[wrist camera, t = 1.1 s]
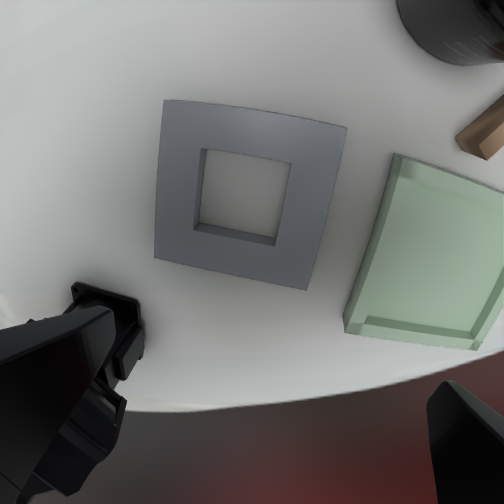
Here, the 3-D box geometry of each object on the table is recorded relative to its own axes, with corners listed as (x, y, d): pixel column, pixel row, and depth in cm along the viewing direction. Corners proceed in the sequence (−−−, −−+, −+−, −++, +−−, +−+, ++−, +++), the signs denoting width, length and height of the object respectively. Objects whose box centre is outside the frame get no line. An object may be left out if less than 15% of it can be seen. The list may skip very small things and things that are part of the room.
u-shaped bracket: (463, 150, 16) (486, 160, 13) (305, -29, 13) (305, -50, 10) (556, 63, 11) (582, 63, 8) (427, -96, 8) (440, -115, 5)
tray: (342, 316, 22) (344, 332, 20) (394, 153, 17) (403, 158, 15) (469, 336, 21) (477, 350, 20) (530, 204, 16) (543, 213, 14)
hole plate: (161, 249, 22) (154, 257, 21) (172, 99, 17) (164, 100, 16) (306, 280, 21) (306, 290, 20) (344, 127, 17) (347, 128, 15)
